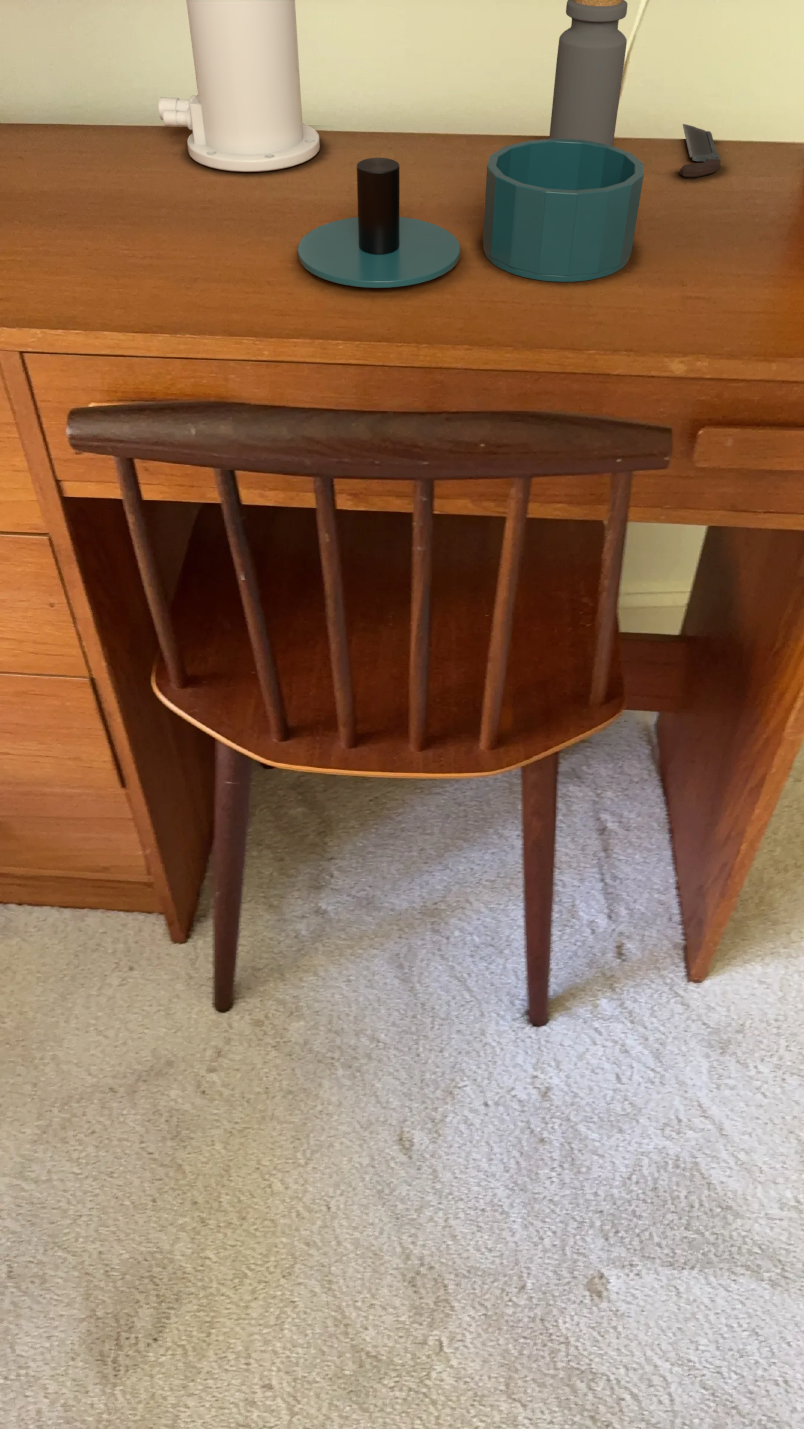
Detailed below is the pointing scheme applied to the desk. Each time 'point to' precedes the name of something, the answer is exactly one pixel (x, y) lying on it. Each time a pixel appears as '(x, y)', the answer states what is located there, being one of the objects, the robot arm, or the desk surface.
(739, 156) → the desk surface
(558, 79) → the bottle
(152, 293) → the desk surface
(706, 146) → the knife
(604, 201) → the pan
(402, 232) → the pan lid
